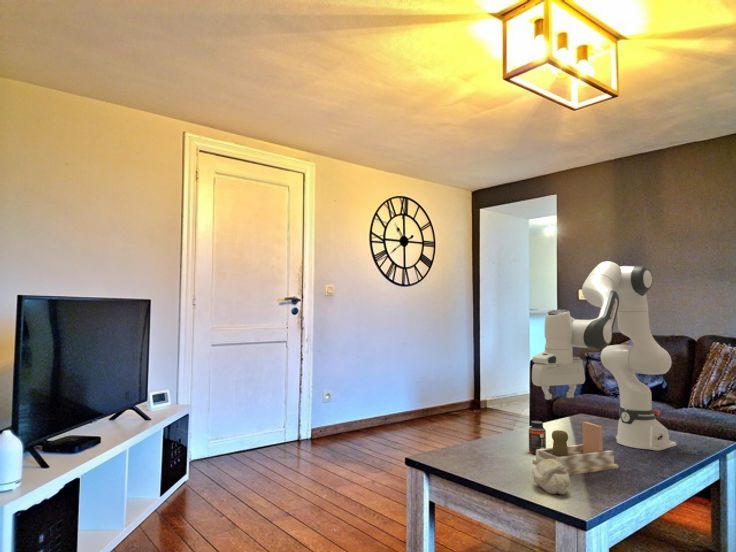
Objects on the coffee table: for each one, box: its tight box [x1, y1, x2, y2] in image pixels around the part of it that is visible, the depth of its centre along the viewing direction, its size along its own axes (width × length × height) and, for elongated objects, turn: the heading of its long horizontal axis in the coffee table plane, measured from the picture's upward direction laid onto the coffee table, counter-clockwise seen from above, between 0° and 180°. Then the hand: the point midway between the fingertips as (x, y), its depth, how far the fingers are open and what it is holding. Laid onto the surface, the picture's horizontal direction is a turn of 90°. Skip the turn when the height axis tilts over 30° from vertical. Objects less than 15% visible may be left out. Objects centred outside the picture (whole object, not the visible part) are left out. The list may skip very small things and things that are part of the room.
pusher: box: [581, 421, 604, 454], centre depth 166 cm, size 2×7×12 cm, turn 22°
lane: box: [532, 443, 619, 476], centre depth 163 cm, size 24×14×5 cm, turn 112°
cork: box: [551, 429, 569, 457], centre depth 161 cm, size 6×6×11 cm
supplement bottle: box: [528, 420, 547, 455], centre depth 177 cm, size 6×6×11 cm
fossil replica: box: [532, 458, 571, 495], centre depth 140 cm, size 12×8×10 cm
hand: (559, 398), depth 162 cm, fingers open, 8 cm apart
